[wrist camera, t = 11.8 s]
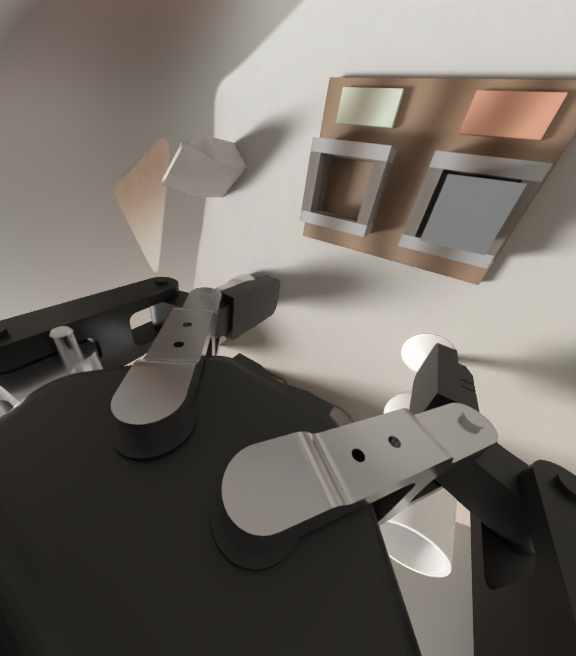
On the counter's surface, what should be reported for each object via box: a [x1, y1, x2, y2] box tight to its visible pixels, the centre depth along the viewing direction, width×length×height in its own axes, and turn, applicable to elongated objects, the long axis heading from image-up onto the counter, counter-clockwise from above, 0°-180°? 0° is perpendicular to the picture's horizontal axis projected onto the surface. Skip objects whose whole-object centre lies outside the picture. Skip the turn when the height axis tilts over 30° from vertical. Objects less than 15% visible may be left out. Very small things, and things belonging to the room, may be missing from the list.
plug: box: [420, 174, 527, 255], centre depth 20 cm, size 4×4×10 cm
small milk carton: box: [161, 135, 247, 197], centre depth 33 cm, size 4×7×10 cm, turn 125°
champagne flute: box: [379, 334, 457, 577], centre depth 24 cm, size 7×7×24 cm
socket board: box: [300, 77, 576, 285], centre depth 24 cm, size 22×16×5 cm
